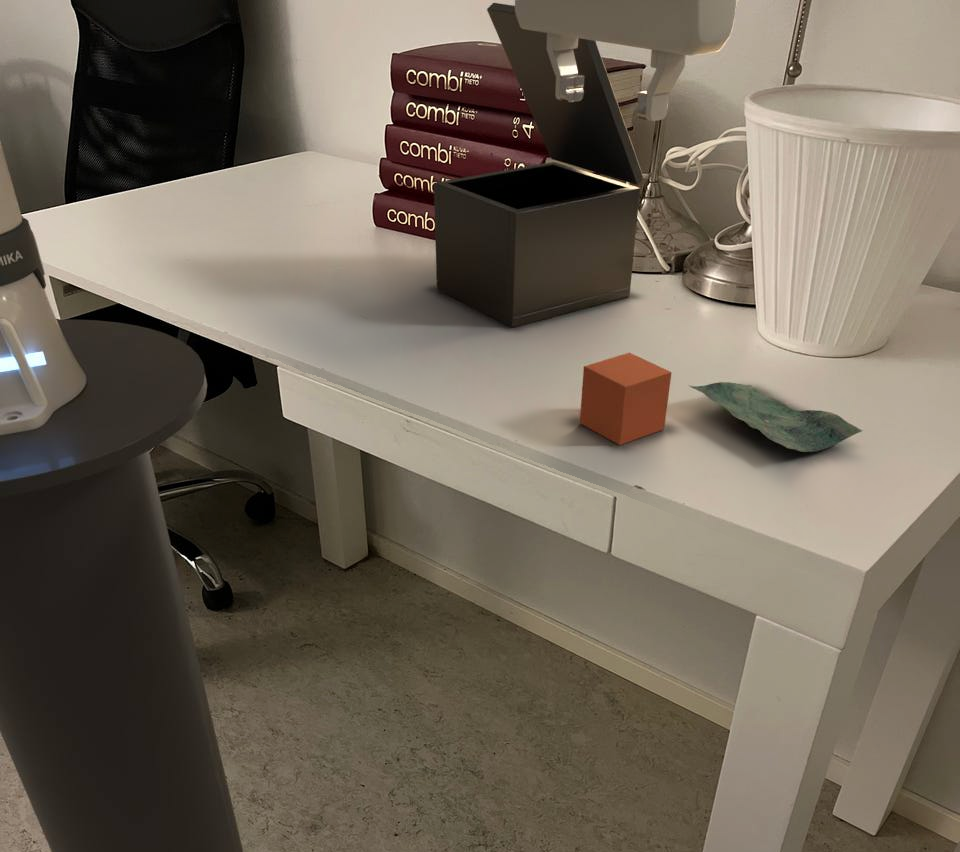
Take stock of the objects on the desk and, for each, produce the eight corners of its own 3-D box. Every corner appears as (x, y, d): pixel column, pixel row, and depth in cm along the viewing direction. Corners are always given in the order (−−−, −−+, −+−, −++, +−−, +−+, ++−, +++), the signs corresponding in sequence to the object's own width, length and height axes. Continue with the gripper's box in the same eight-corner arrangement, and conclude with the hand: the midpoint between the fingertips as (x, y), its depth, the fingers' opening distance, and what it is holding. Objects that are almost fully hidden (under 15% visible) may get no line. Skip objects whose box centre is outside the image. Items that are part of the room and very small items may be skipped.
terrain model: (682, 404, 83) (685, 383, 82) (750, 389, 86) (755, 369, 85) (786, 467, 74) (791, 445, 73) (857, 449, 78) (864, 427, 76)
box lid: (579, 23, 85) (620, -18, 85) (486, 9, 94) (523, -28, 94) (637, 185, 98) (673, 149, 98) (551, 159, 107) (583, 126, 107)
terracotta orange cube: (619, 445, 78) (625, 387, 74) (579, 423, 81) (583, 366, 78) (664, 429, 80) (672, 371, 77) (623, 408, 83) (629, 352, 80)
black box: (512, 327, 98) (515, 213, 91) (436, 289, 107) (433, 182, 100) (629, 296, 105) (640, 187, 98) (549, 263, 114) (553, 161, 107)
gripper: (496, -116, 72) (495, 95, 80) (699, -115, 59) (672, 136, 67) (561, -117, 75) (554, 86, 83) (768, -116, 62) (734, 124, 70)
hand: (608, 109), depth 75 cm, fingers open, 8 cm apart
